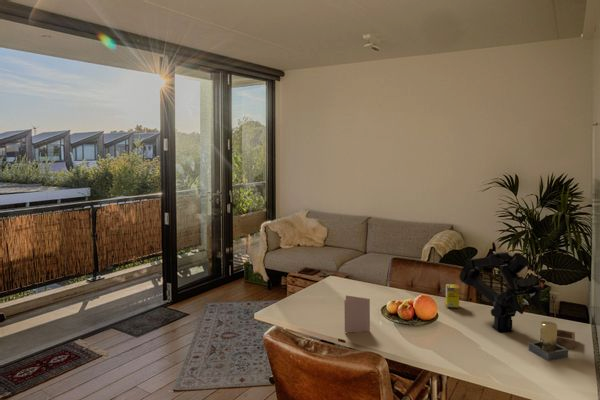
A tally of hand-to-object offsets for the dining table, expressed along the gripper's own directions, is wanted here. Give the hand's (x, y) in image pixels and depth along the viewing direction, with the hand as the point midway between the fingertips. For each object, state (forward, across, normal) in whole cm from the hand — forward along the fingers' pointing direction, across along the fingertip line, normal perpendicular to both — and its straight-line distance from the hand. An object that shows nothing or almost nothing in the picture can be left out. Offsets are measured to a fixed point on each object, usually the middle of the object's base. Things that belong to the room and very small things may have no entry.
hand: (531, 312), depth 177 cm
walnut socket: (+11, +14, +8) cm, 19 cm away
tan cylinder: (+15, 0, +3) cm, 15 cm away
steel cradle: (+16, 0, +3) cm, 16 cm away
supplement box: (-24, -4, +43) cm, 49 cm away
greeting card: (-15, -62, +35) cm, 73 cm away
